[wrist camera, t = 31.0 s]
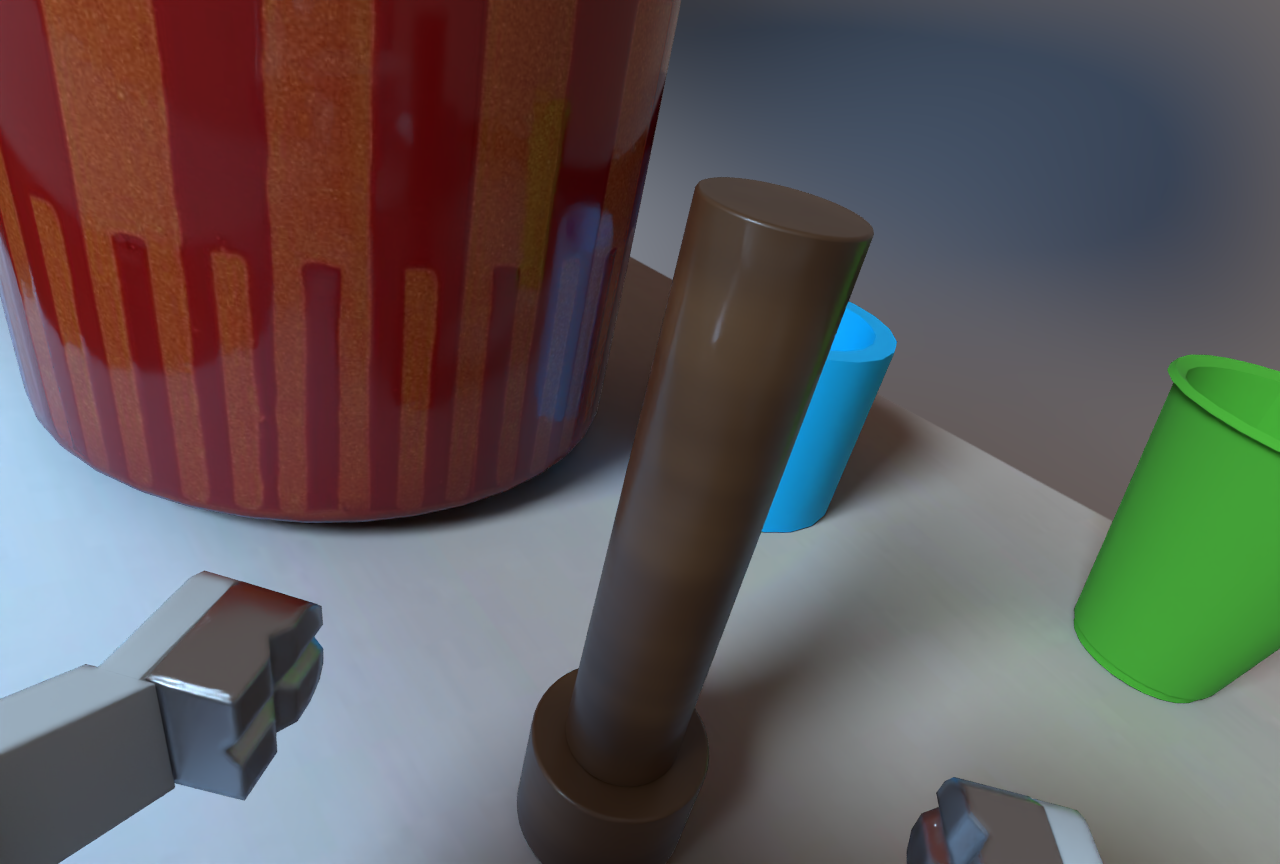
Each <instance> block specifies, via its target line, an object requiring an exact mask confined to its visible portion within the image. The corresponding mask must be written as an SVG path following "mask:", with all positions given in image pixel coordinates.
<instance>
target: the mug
mask: <svg viewBox="0 0 1280 864" xmlns="http://www.w3.org/2000/svg"><path fill="white" fill-rule="evenodd" d="M896 344H897V341H896V339H895V337H894V336H893V334H892V332H891V330H890V329H889V328H888V327H887V326H885V325H884V324H883V323H882V322H881V321H880V320H879V319H878V318H876V317H875V316H874V315H872V314H870V313H868V312H867V311H865V310H864V309H862V308H860V307H859V306H857V305H855V304H853V303H851V302H849V301H848V304H847V307H846V309H845V312H844V315H843V317H842V320H841V323H840V325H839V328H838V330H837V333H836V336H835V338H834V341H833V344H832V346H831V349H830V352H829V354H828V357H827V360H826V362H825V365H824V367H823V370H822V373H821V375H820V378H819V381H818V383H817V386H816V389H815V391H814V394H813V397H812V399H811V402H810V404H809V407H808V410H807V412H806V415H805V418H804V420H803V423H802V426H801V428H800V431H799V433H798V436H797V439H796V441H795V444H794V447H793V449H792V452H791V455H790V457H789V460H788V463H787V465H786V468H785V470H784V473H783V476H782V478H781V481H780V484H779V486H778V489H777V492H776V494H775V497H774V499H773V502H772V505H771V507H770V510H769V513H768V515H767V518H766V521H765V523H764V526H763V529H762V531H761V532H792V531H796V530H799V529H802V528H806V527H809V526H812V525H813V524H814V523H816V522H817V521H818V520H819V519H820V518H822V517H823V516H824V515H825V513H826V511H827V509H828V506H829V504H830V502H831V499H832V497H833V495H834V492H835V490H836V488H837V485H838V483H839V481H840V478H841V476H842V474H843V471H844V469H845V467H846V464H847V462H848V460H849V457H850V455H851V453H852V450H853V448H854V446H855V443H856V441H857V439H858V436H859V434H860V432H861V429H862V427H863V425H864V422H865V420H866V418H867V415H868V413H869V411H870V408H871V406H872V404H873V401H874V399H875V397H876V394H877V391H878V390H879V387H880V385H881V383H882V380H883V378H884V375H885V373H886V371H887V369H888V366H889V364H890V362H891V359H892V357H893V354H894V352H895V348H896Z"/></svg>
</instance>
